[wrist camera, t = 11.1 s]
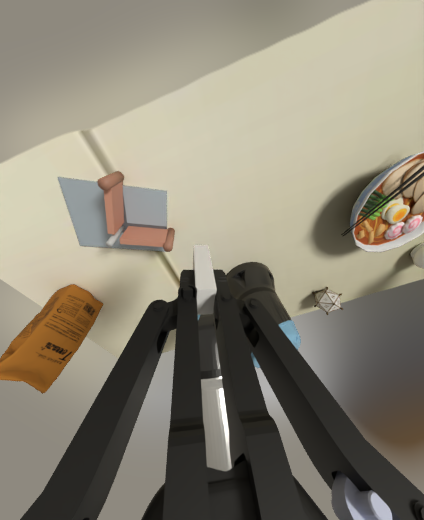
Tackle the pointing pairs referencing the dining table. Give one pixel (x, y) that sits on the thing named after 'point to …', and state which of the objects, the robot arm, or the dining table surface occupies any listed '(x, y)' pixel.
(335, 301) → the game die
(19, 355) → the coffee package
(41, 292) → the dining table surface
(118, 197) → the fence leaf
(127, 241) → the panel
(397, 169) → the ramen bowl
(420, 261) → the flower vase
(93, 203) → the card
